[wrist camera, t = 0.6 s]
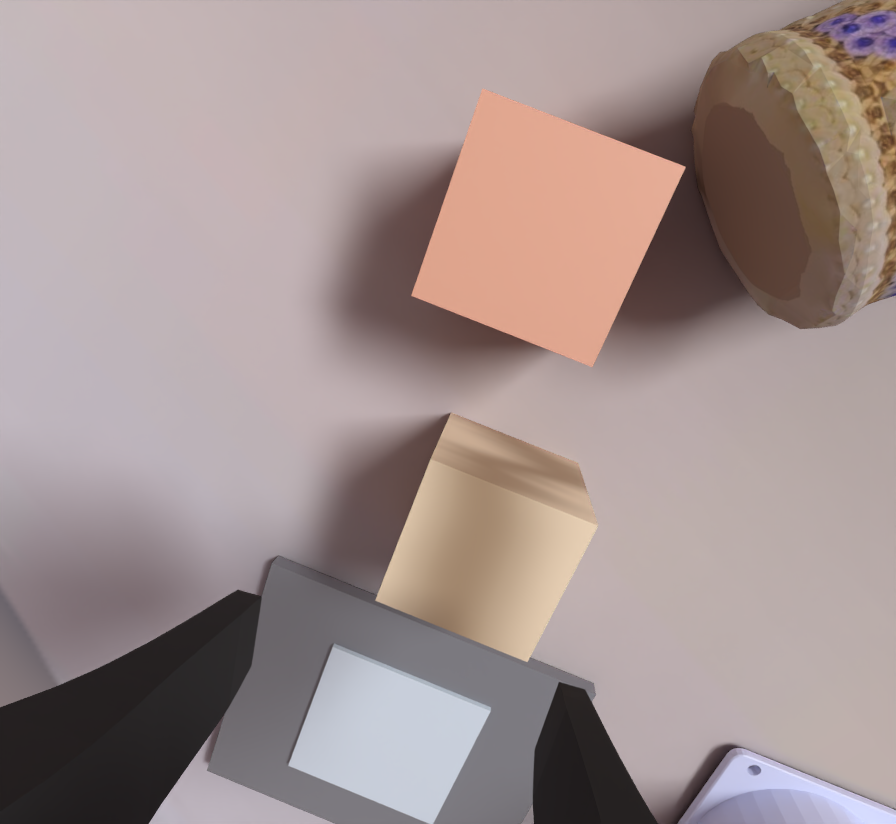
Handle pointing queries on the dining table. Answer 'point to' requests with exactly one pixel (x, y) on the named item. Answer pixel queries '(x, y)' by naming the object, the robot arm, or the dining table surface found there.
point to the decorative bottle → (805, 162)
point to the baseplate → (381, 712)
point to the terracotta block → (543, 227)
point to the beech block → (490, 538)
